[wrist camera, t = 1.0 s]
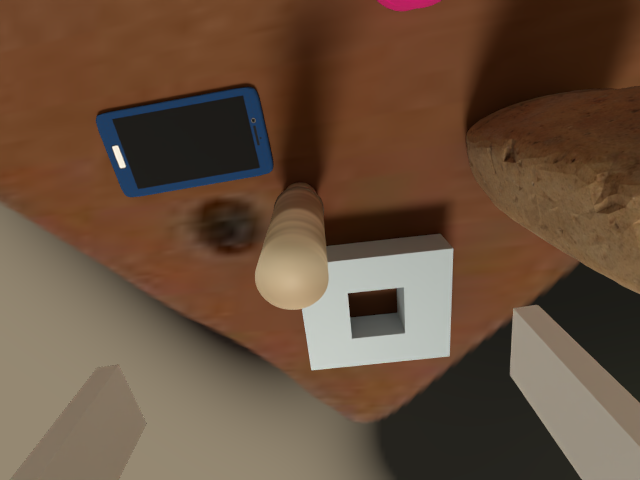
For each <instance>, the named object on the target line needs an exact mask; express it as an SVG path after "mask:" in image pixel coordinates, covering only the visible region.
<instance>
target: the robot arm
mask: <svg viewBox="0 0 640 480" xmlns="http://www.w3.org/2000/svg"><path fill="white" fill-rule="evenodd" d="M512 327H513V328H512V345H511V346H512V347H511V363H510V375H511V377H512V378H513V380H514V381H515V383H516V384H517V386H518V387H519V389H520V390H521V392H522V393H523V394H524V396H525V397H526V399H527V400H528V402H529V403H530V405H531V406H532V407H533V409H534V410H535V412H536V413H537V415H538V416H539V418H540V419H541V420H542V422H543V424H544V425H545V426H546V428H547V429H548V430H549V432H550V434H551V435H552V437H553V438H554V439H555V441H556V442H557V444H558V445H559V447H560V448H561V450H562V451H563V453H564V454H565V455H566V457H567V458H568V460H569V461H570V463H571V464H572V466H573V467H574V469H575V470H576V471H577V473H578V474H579V476H580V477H581V479H582V480H640V403H639V402H638V401H637V400H636V399H635V398H634V397H633V396H632V395H631V394H630V393H629V392H628V391H627V390H626V389H625V388H624V387H622V386H621V385H620V384H619V383H618V382H617V381H616V380H615V379H614V378H613V377H612V376H611V375H610V374H609V373H608V372H607V371H606V370H605V369H604V368H603V367H602V366H600V364H599V363H598V362H597V361H595V360H594V359H593V358H592V357H591V356H590V355H589V354H588V353H587V352H586V351H585V350H584V349H583V348H582V347H581V346H580V345H579V344H578V343H577V342H576V341H575V340H574V339H573V338H572V337H571V336H569V335H568V334H567V333H566V332H565V331H564V330H563V329H562V328H561V327H560V326H559V325H558V324H557V323H556V322H555V321H554V320H553V319H552V318H551V317H550V316H549V315H548V314H547V313H546V312H545V311H543V310H542V309H541V308H540V307H539V306H538V305H533V306H526V307H519V308H513V326H512ZM146 424H147V423H146V421H145V419H144V417H143V415H142V412H141V410H140V408H139V406H138V404H137V402H136V400H135V398H134V396H133V393H132V391H131V389H130V387H129V385H128V383H127V381H126V379H125V376H124V374H123V372H122V370H121V368H120V366H119V365H112V366H106V367H98V368H97V369H96V370H95V371H94V372H93V374H92V375H91V376H90V377H89V379H88V380H87V381H86V383H85V384H84V385H83V386H82V388H81V389H80V390H79V392H78V393H77V394H76V395H75V397H74V398H73V399H72V401H71V402H70V403H69V404H68V406H67V407H66V408H65V410H64V411H63V412H62V414H61V415H60V416H59V417H58V419H57V420H56V421H55V422H54V424H53V425H52V426H51V428H50V429H49V430H48V432H47V433H46V434H45V435H44V437H43V438H42V439H41V440H40V442H39V443H38V444H37V446H36V447H35V448H34V449H33V451H32V452H31V453H30V455H29V456H28V457H27V458H26V460H25V461H24V462H23V464H22V465H21V466H20V467H19V469H18V470H17V471H16V473H15V474H14V475H13V477H12V478H11V479H10V480H119V478H120V476H121V474H122V472H123V470H124V468H125V466H126V464H127V462H128V460H129V458H130V455H131V454H132V452H133V450H134V448H135V446H136V444H137V442H138V440H139V438H140V436H141V434H142V432H143V430H144V428H145V426H146Z"/></svg>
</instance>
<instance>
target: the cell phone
mask: <svg viewBox="0 0 640 480" xmlns="http://www.w3.org/2000/svg"><path fill="white" fill-rule="evenodd" d="M96 123H97V127H98V130H99V133H100V136H101V138H102V141H103V143H104V146H105V148H106V151H107V153H108V156H109V158H110V161H111V164H112V166H113V169H114V171H115V174H116V176H117V179H118V181H119V184H120V186H121V189H122V190H123V192H124V194H125V195H126V196H128V197H138V196H145V195H151V194H156V193H162V192H168V191H174V190H179V189H185V188H191V187H197V186H202V185H208V184H214V183H220V182H226V181H231V180H237V179H243V178H249V177H254V176H260V175H263V174H267V173H270V172H271V171H272V169H273V158H272V153H271V149H270V144H269V139H268V135H267V130H266V126H265V121H264V117H263V112H262V107H261V103H260V99H259V96H258V93H257V91H256V90H255V89H254V88H253V87H243V88H234V89H229V90H224V91H218V92H213V93H208V94H202V95H197V96H192V97H186V98H181V99H175V100H170V101H165V102H159V103H154V104H149V105H143V106H138V107H133V108H127V109H122V110H117V111H111V112H106V113H103V114H101V115H98V116H97V118H96Z"/></svg>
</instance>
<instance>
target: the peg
mask: <svg viewBox="0 0 640 480" xmlns="http://www.w3.org/2000/svg"><path fill="white" fill-rule="evenodd" d="M323 216H324V207H323V203H322V200H321V198H320V197H319V196H318V195H317V193H316V191H315V190H314V188H313V187H312V186H310V185H309V184H307V183H303V182H297V183H293V184H291V185H290V186H288V187H287V188H286V190H285V191H283V192H282V193H281V194H280V195H279V196H278V198H277V200H276V202H275V205H274V212H273V215H272V218H271V222H270V225H269V228H268V231H267V235H266V238H265V241H264V245H263V248H262V251H261V254H260V258H259V261H258V264H257V268H256V272H255V282H256V286H257V288H258V291H259V292H260V294H261V295H262V296H263V297H264V298H265V299H266V300H267V301H268V302H269V303H271V304H273V305H274V306H277V307H279V308H283V309H289V310H296V309H302V308H306V307H308V306H311V305H312V304H314V303H315V302H317V301H318V300H319V299H320V298H321V297H322V296H323V295H324V293H325V291H326V289H327V286H328V281H329V273H328V262H327V251H326V239H325V228H324V217H323Z"/></svg>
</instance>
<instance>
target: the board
mask: <svg viewBox="0 0 640 480" xmlns="http://www.w3.org/2000/svg"><path fill="white" fill-rule="evenodd" d="M326 251H327V262H328V273H329V281H328V286H327V289H326V291H325V293H324V295H323V296H322V297H321V298H320V299H319V300H318V301H317V302H315V303H314V304H312V305H311V306H308V307H306V308H302V312H303V318H304V325H305V331H306V338H307V344H308V351H309V357H310V364H311V370H319V369H329V368H338V367H348V366H358V365H368V364H378V363H387V362H397V361H407V360H417V359H426V358H436V357H446V356H449V355H450V327H451V299H452V270H453V248H452V246H451V245H450V244H449V243H448V242H447V241H446V239H445V238H444V237H443V236H442V235H441V234H432V235H423V236H413V237H404V238H395V239H386V240H377V241H368V242H359V243H350V244H341V245H332V246H326ZM392 288H397V313H389V314H379V315H370V316H361V317H351V318H350V312H349V302H348V293H355V292H364V291H373V290H382V289H392Z"/></svg>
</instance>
